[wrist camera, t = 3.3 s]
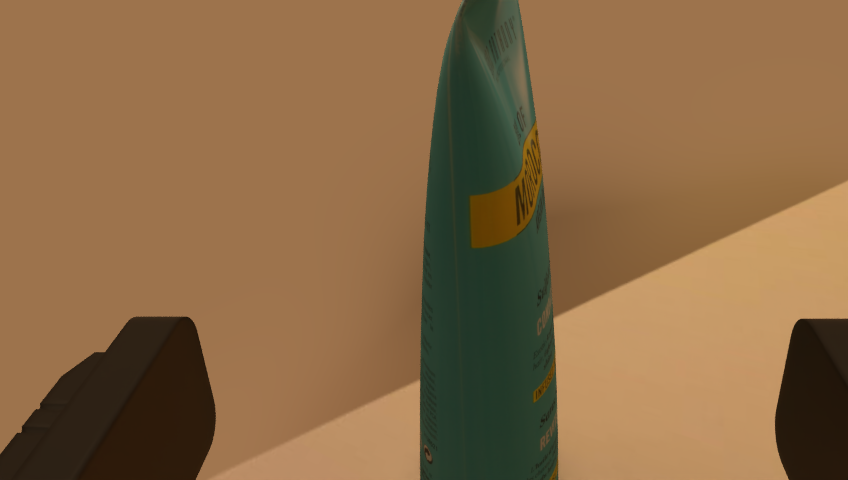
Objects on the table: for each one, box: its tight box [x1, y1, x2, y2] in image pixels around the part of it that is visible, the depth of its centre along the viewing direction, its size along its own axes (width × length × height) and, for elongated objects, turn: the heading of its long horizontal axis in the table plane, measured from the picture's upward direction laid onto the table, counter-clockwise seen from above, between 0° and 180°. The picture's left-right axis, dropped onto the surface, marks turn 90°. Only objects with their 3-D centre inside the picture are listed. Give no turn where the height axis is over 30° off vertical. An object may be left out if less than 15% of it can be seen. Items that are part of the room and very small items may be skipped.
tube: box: [420, 0, 558, 480], centre depth 23 cm, size 7×5×19 cm, turn 173°
